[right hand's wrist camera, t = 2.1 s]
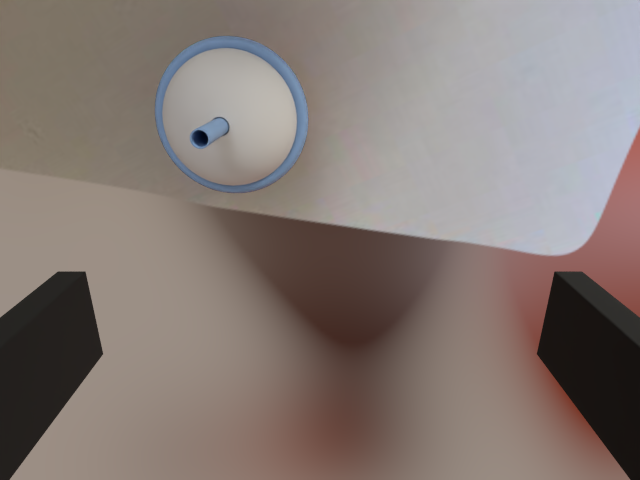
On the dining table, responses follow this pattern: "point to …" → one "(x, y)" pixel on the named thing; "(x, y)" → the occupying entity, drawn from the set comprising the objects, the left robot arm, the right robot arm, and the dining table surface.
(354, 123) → the dining table surface
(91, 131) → the dining table surface
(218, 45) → the cup with straw
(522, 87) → the dining table surface
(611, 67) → the dining table surface
